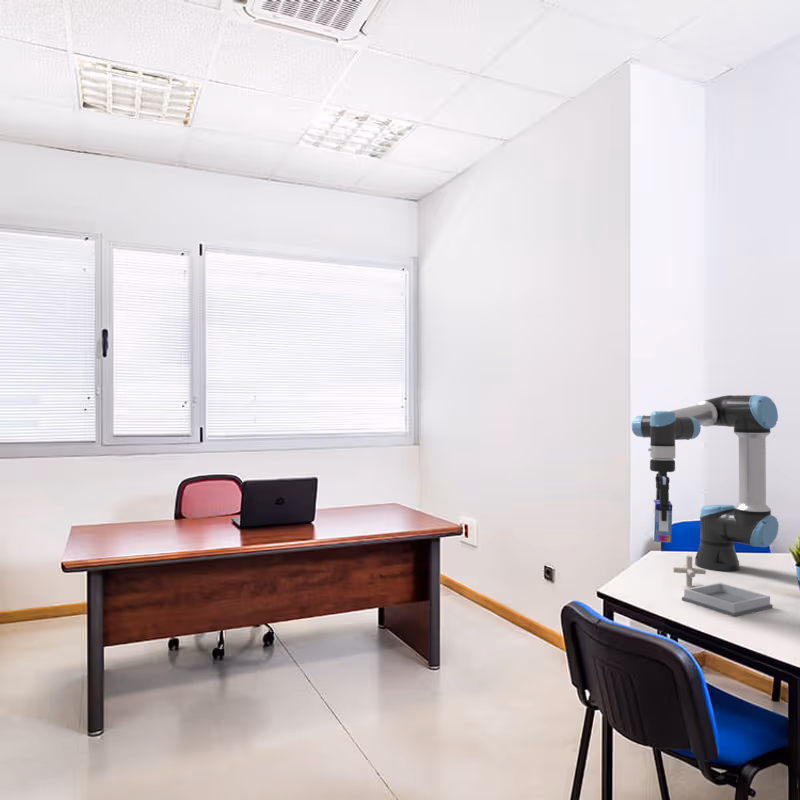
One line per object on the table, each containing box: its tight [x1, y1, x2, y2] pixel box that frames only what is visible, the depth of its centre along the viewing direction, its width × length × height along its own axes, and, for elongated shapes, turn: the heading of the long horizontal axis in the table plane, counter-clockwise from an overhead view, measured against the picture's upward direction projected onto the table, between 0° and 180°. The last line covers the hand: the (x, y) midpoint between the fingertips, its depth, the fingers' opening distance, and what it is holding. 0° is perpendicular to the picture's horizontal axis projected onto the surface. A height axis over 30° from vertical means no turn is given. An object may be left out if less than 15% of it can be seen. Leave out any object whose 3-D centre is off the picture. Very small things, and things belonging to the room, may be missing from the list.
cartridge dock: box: [681, 582, 774, 618], centre depth 205 cm, size 18×18×4 cm
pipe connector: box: [672, 555, 706, 587], centre depth 225 cm, size 10×10×10 cm
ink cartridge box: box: [651, 499, 673, 544], centre depth 214 cm, size 10×6×14 cm, turn 163°
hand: (662, 527), depth 214 cm, fingers closed on ink cartridge box, 10 cm apart
